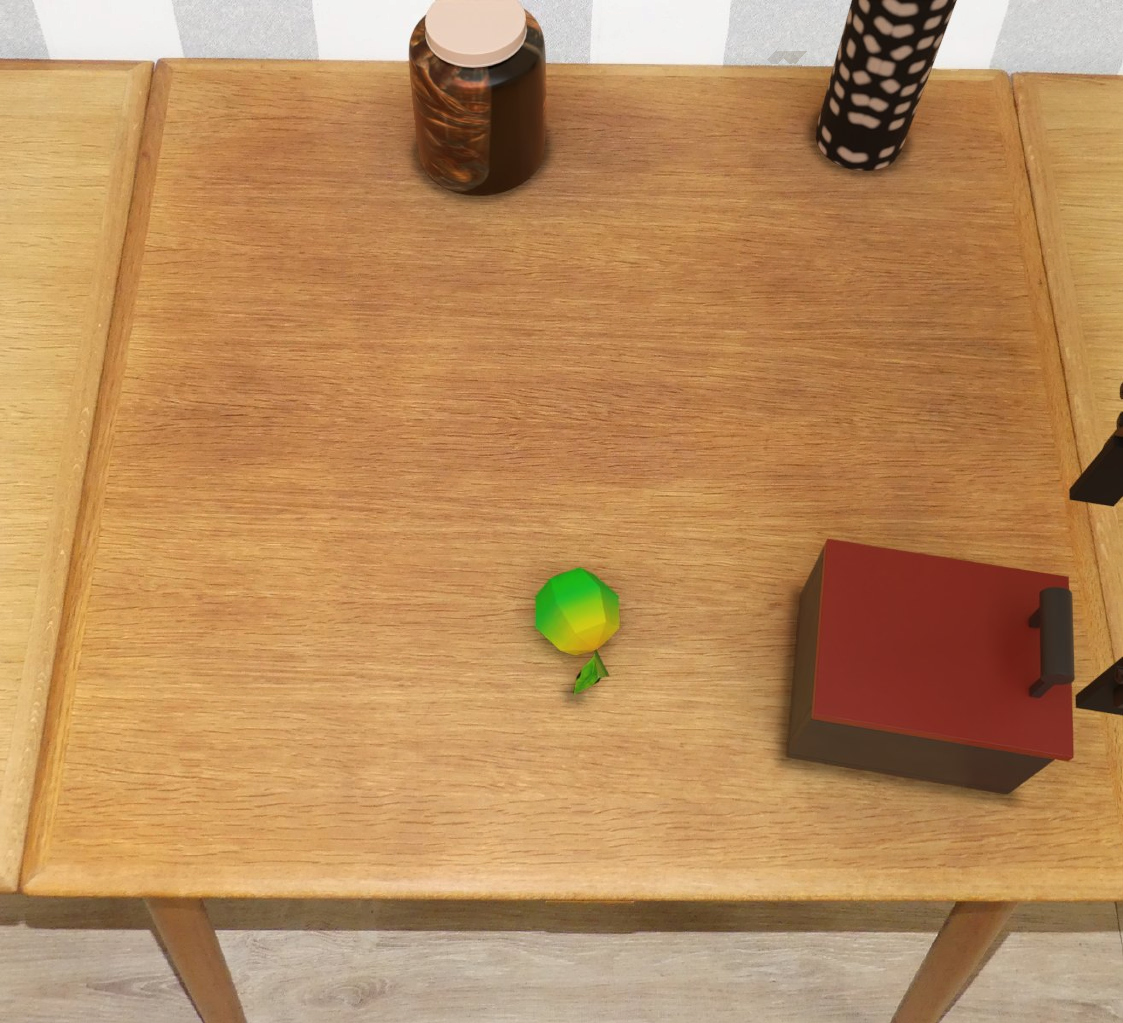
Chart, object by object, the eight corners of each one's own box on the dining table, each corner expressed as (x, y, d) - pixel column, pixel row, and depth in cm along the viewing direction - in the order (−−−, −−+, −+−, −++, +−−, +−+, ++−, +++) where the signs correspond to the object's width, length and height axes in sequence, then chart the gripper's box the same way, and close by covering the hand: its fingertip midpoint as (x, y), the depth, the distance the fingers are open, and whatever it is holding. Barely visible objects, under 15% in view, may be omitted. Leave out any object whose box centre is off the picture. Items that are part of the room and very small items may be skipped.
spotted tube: (843, 181, 114) (900, 4, 96) (799, 120, 117) (846, -62, 100) (919, 155, 116) (989, -24, 98) (874, 96, 119) (933, -88, 101)
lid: (1063, 582, 86) (1098, 544, 80) (1068, 761, 80) (1106, 734, 74) (824, 544, 87) (843, 505, 81) (810, 719, 81) (830, 689, 75)
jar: (516, 212, 112) (514, 86, 98) (399, 175, 113) (381, 46, 100) (562, 123, 117) (566, -8, 103) (449, 89, 118) (439, -44, 105)
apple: (556, 548, 88) (610, 655, 84) (613, 549, 92) (666, 651, 89) (498, 602, 92) (547, 707, 88) (556, 601, 96) (605, 701, 92)
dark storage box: (1007, 628, 94) (1051, 580, 86) (1008, 794, 88) (1055, 760, 80) (799, 595, 95) (823, 544, 87) (785, 757, 89) (810, 719, 81)
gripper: (1187, 180, 60) (1029, 412, 79) (1232, 653, 48) (1034, 791, 67) (1344, 202, 59) (1147, 430, 78) (1426, 684, 48) (1172, 815, 67)
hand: (1094, 597), depth 73 cm, fingers open, 13 cm apart
